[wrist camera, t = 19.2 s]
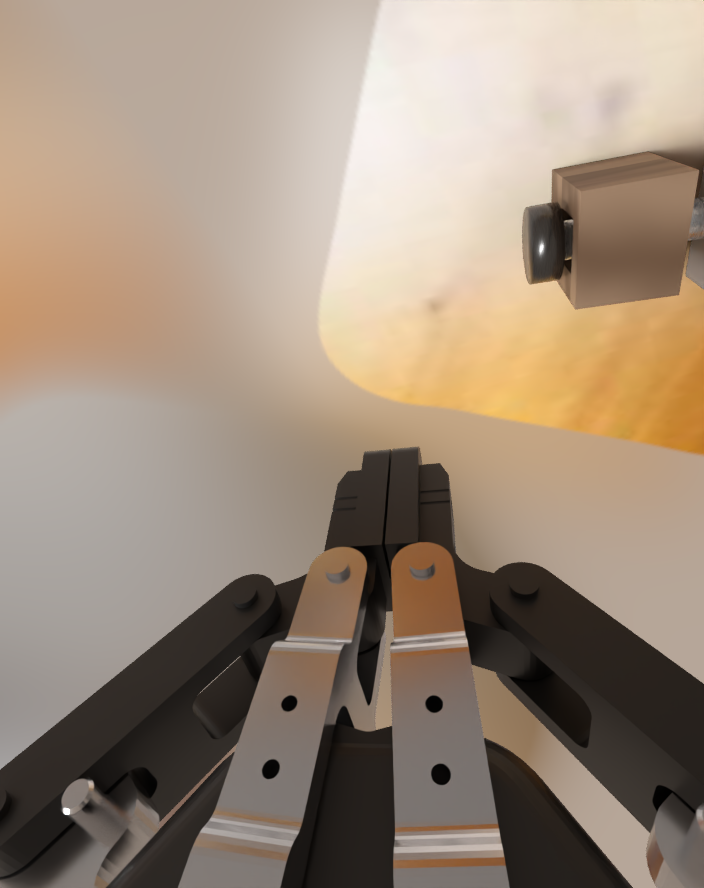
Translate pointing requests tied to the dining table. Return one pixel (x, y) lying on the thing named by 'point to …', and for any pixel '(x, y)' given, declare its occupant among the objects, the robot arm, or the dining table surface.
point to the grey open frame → (697, 253)
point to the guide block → (625, 227)
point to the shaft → (566, 239)
